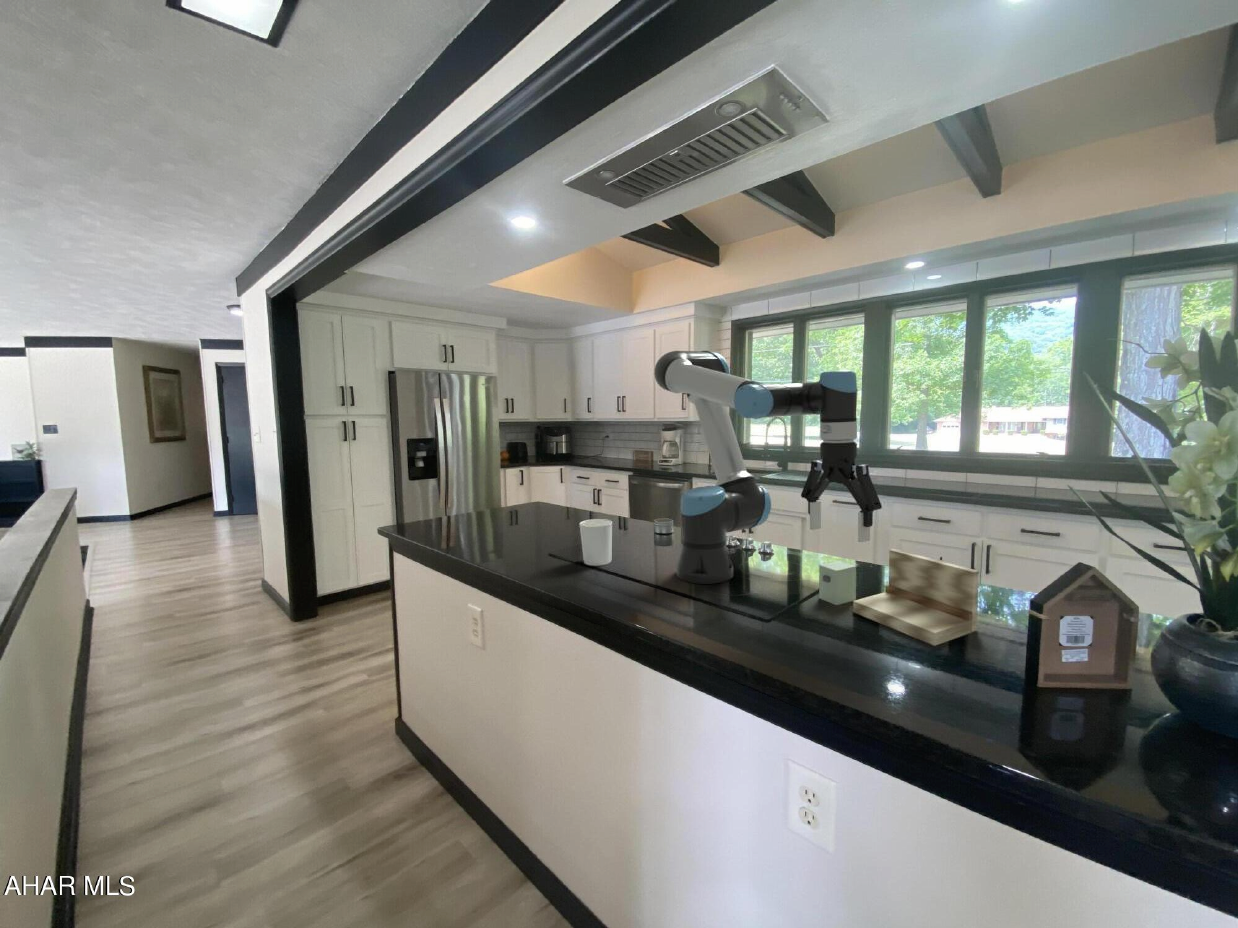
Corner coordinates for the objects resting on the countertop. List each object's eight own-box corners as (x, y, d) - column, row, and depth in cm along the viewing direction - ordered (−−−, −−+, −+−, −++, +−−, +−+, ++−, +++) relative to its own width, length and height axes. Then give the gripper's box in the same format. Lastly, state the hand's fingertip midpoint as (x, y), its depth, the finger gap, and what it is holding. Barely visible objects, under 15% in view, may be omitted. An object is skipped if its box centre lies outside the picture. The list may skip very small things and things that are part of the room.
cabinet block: (816, 598, 119) (816, 565, 119) (838, 593, 122) (838, 560, 121) (833, 606, 115) (834, 571, 114) (855, 600, 118) (856, 566, 117)
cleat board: (853, 612, 111) (853, 557, 110) (892, 600, 116) (893, 548, 115) (934, 645, 95) (936, 582, 94) (976, 630, 100) (978, 570, 99)
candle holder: (577, 566, 151) (575, 526, 150) (585, 556, 161) (583, 518, 159) (610, 566, 150) (608, 526, 148) (616, 556, 159) (614, 518, 158)
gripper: (785, 440, 124) (786, 526, 127) (875, 444, 102) (874, 549, 104) (808, 438, 127) (809, 522, 130) (901, 442, 105) (900, 544, 107)
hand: (838, 534), depth 117 cm, fingers open, 13 cm apart
